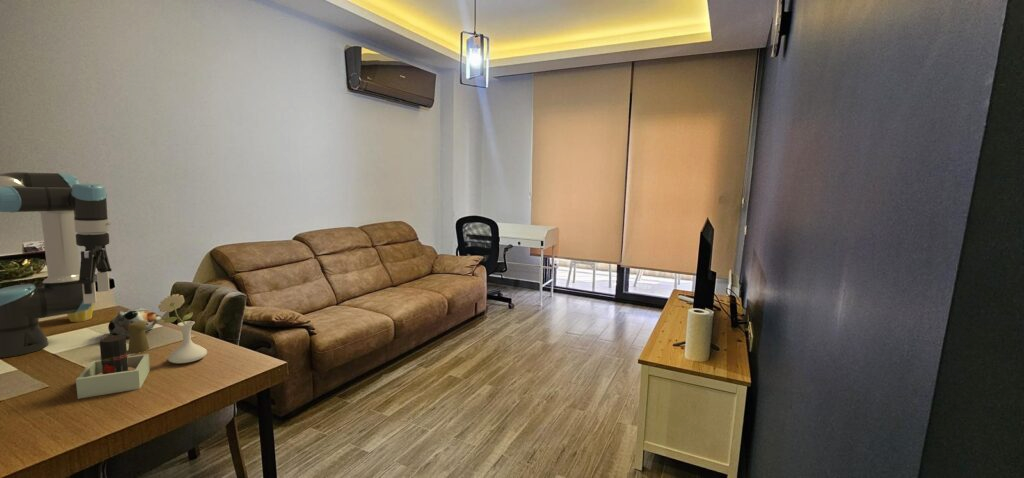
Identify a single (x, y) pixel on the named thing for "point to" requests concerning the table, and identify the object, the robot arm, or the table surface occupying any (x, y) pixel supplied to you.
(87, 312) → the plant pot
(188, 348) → the flower in vase
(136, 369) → the open box
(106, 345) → the deodorant
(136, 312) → the lucky cat figurine
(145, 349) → the cork
